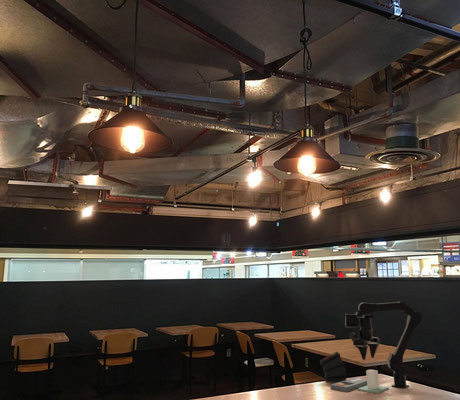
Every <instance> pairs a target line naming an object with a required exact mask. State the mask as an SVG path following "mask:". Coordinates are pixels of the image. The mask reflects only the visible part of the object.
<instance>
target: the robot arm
mask: <svg viewBox="0 0 460 400" xmlns="http://www.w3.org/2000/svg"><path fill="white" fill-rule="evenodd" d="M395 310H396V311H397V310H400V311H401V312H402V313H403V314H404V315H406V317H407V318H406V325H405V328H404V331H403V333H402V335H401V337H400V339H399V341H398V344H397V346H396V348H395V350H394V351H393V353H392V352H389V355H388V357H387V358H386V360H387V363H386V364H387V367H389V369H390V370H391V371H392V372H393V373H392V374H393V384H392V385H391V387H392V388H400V389H406V388H408V387H410V385H409V384H407V379H406V378H407V377H406V375H407V370H406V369H405V368H404V367H403V362H404V361H403V360H404V354H405V352H406V350H407V348H408V345H409V343H410V341H411V339H412V337H413V334H414V332H415V330H416V329H417V328H418V327H419V325H420V324H421V323H422V321H423V314H422V313H421V312H419V311H417V310H414V309H413V308H412V307H410V306H409V305H407V304H406V303H405V302H404V301H397V302H396V301H394V302H384V303H381V302H380V303H370V302H361V303H359V304H358V309H357V311H356V312H355V313H353V314H352V313H351V314H350V313H349V314H348V313H345V314H344V315H345V316H344V317H345V318H344V319H345V320H344V324H345V328H357V327H358V326H359V327H360V329H358V330H357V331H358V332H354V331H353V332H352V331H351V332H349V339H350V340H351V342H352V344H353V346H354V347H355V348H357V349H358V351H359V353H360V356H361V358H362V361H366V358H367V352H368V348H369V352H370V357H371V359H374V358H375V355H376V353H377V350H378V348H379V346H380V344H381V338H380V337H377V336H376V337H375V336H373V332H374V329H373V328H372V326H373V325H372V319H375V316H373V313H376V312H384V311H395Z"/></svg>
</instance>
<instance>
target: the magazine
mask: <svg viewBox="0 0 460 400" xmlns="http://www.w3.org/2000/svg"><path fill="white" fill-rule="evenodd" d="M319 362H320V363H319V364H320V366H322V368H323V370H322V371H323V372H324V379H325V382H326V383H338V382H341V381H345V380H347V377H348V375H347V374H346V369H345V362H343V359H342V357H341V354H340V353H339V352H338V351H335V352H333V353H331V354H329V355H328V356H325V357H324V358H322V359H320V360H319Z"/></svg>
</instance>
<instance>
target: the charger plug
mask: <svg viewBox="0 0 460 400" xmlns="http://www.w3.org/2000/svg"><path fill="white" fill-rule="evenodd" d="M378 371H379V370H376V369H367V370H366V371H365V373H366V379H367V385H366V386H367V387H368V388H370V389H377V388H379V386H380V384H379V383H380V382H379V381H380V380H379V372H378Z"/></svg>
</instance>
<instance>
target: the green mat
mask: <svg viewBox="0 0 460 400" xmlns="http://www.w3.org/2000/svg"><path fill="white" fill-rule="evenodd" d="M387 390H389V387H388V386H382V385H381V386H380V385H379V388H377V389H370V388H368V387H367V385H365V386H363V387H360V388H357V391H361V392H366V393H373V394H380V393H382V392H385V391H387Z"/></svg>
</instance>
